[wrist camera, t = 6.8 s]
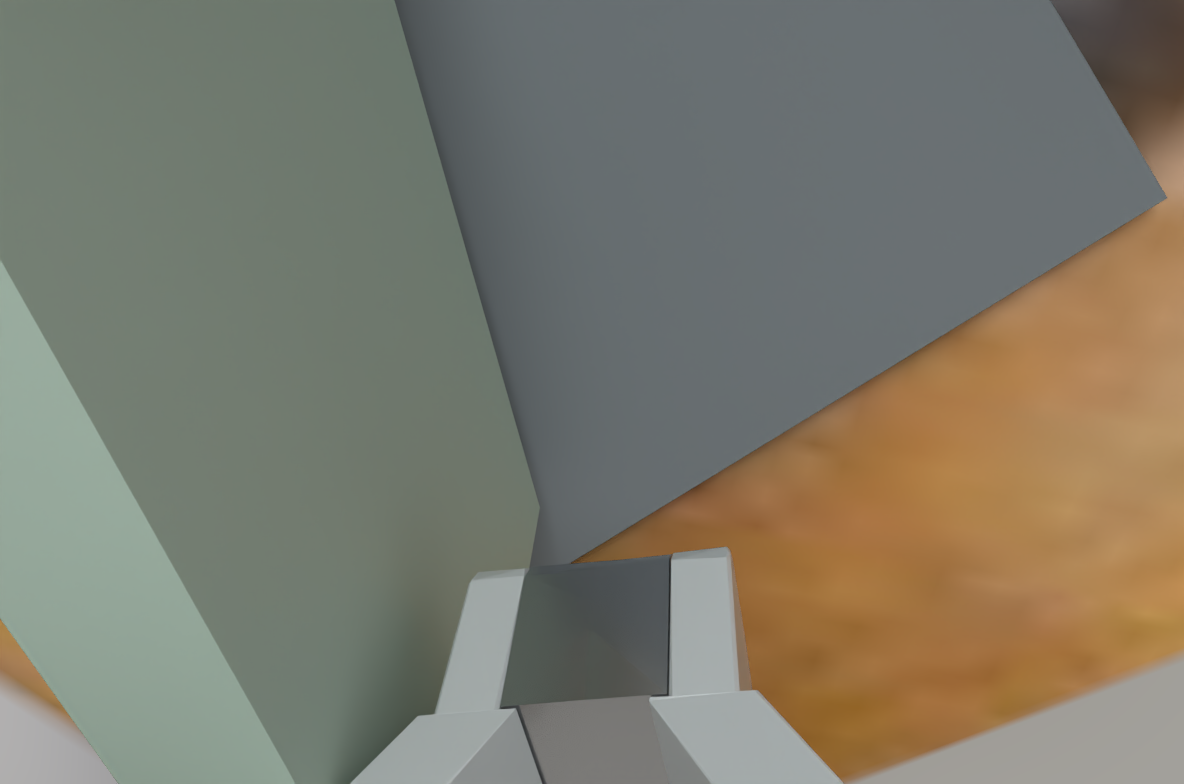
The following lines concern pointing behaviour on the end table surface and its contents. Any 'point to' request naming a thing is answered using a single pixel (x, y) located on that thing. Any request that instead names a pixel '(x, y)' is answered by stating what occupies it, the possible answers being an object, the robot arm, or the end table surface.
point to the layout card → (745, 211)
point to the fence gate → (239, 385)
